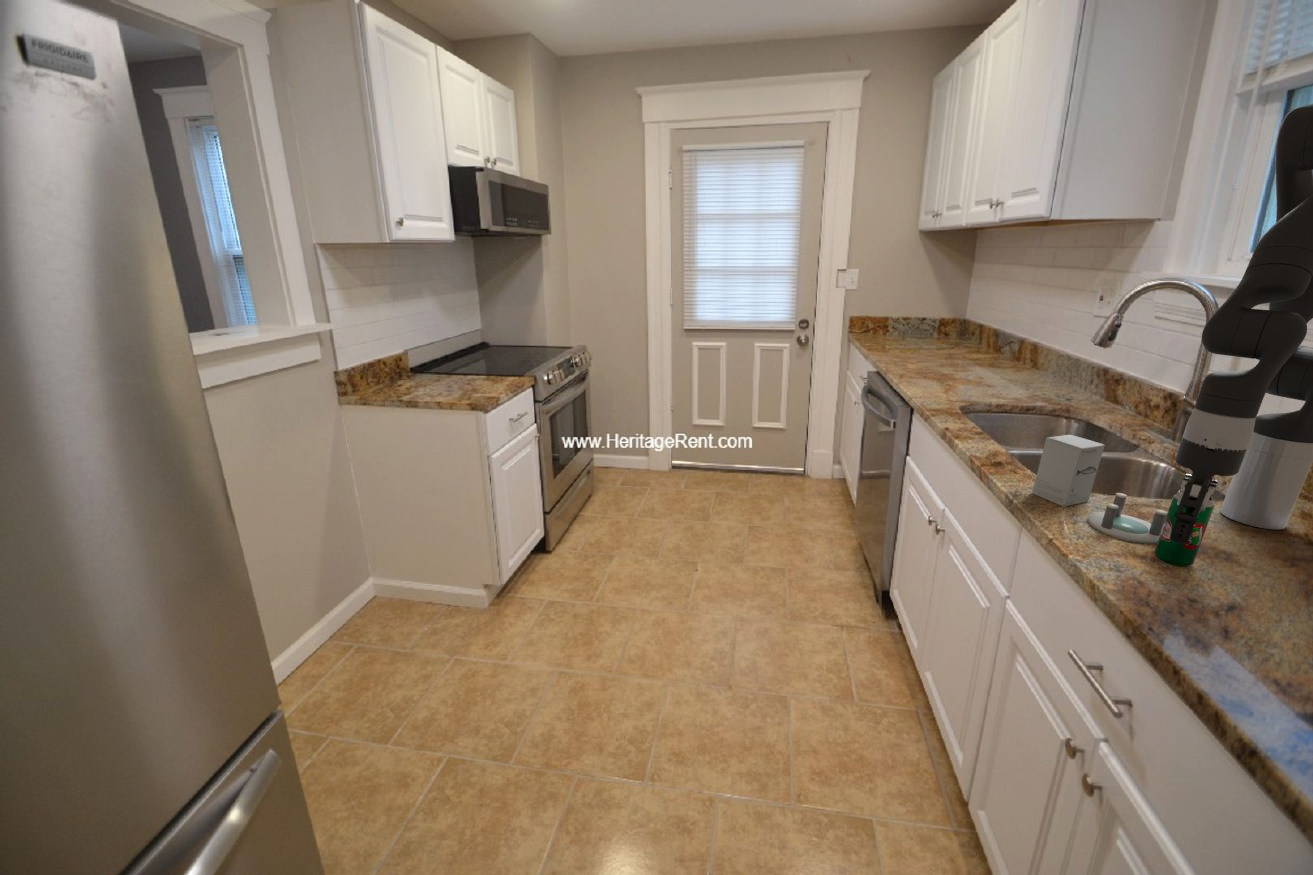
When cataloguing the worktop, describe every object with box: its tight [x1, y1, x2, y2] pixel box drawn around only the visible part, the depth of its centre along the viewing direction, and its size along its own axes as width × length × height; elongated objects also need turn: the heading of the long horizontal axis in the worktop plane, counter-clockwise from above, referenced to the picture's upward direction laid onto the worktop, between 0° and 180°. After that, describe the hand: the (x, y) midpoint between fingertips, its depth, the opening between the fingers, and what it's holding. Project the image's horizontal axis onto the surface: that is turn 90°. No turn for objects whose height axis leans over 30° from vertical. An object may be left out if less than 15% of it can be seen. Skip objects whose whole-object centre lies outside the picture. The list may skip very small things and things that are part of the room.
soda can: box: [1154, 489, 1215, 568], centre depth 96 cm, size 5×5×12 cm
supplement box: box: [1031, 434, 1105, 507], centre depth 120 cm, size 7×7×13 cm
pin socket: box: [1087, 492, 1168, 544], centre depth 108 cm, size 11×11×5 cm
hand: (1182, 533), depth 96 cm, fingers open, 8 cm apart
